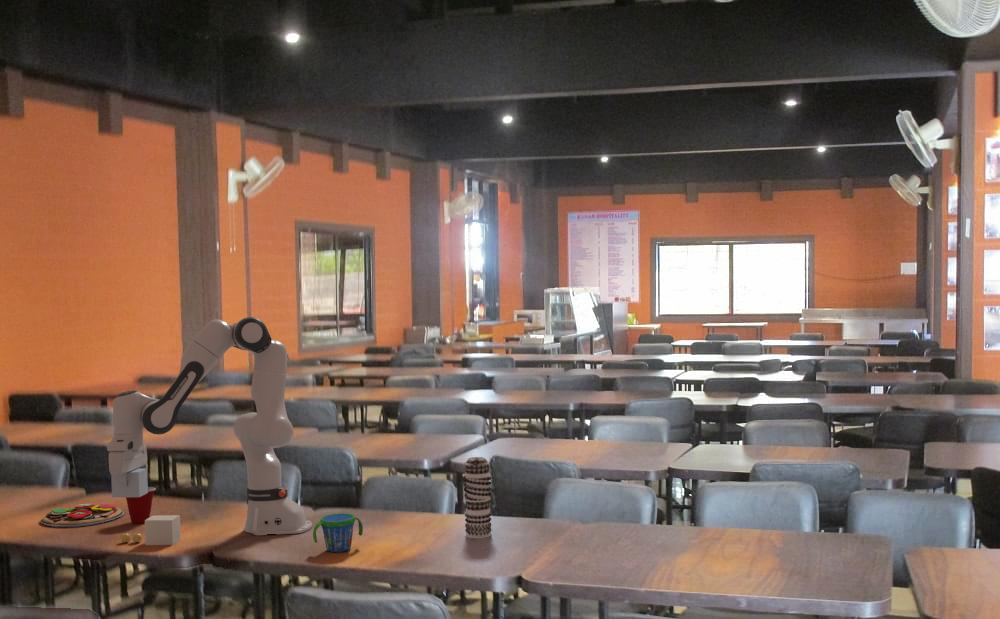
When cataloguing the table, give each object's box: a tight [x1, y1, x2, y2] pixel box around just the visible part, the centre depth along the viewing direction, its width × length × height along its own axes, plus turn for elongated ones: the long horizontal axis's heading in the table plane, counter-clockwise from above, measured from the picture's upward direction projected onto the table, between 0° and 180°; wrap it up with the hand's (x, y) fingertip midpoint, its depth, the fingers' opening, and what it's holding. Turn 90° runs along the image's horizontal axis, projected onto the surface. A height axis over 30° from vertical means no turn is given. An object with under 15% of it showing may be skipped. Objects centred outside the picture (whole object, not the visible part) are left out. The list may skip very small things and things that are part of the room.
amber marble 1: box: [120, 532, 132, 544], centre depth 317 cm, size 3×3×3 cm
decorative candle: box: [462, 456, 492, 539], centre depth 317 cm, size 9×9×25 cm
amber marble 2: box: [131, 532, 143, 543], centre depth 316 cm, size 3×3×3 cm
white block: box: [110, 468, 149, 498], centre depth 316 cm, size 9×6×8 cm
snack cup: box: [312, 512, 364, 553], centre depth 303 cm, size 16×10×10 cm
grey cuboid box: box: [144, 514, 182, 546], centre depth 316 cm, size 9×6×8 cm
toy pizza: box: [40, 503, 125, 528], centre depth 352 cm, size 28×28×4 cm
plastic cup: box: [125, 486, 157, 525], centre depth 344 cm, size 11×11×12 cm
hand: (129, 484), depth 316 cm, fingers closed on white block, 6 cm apart
